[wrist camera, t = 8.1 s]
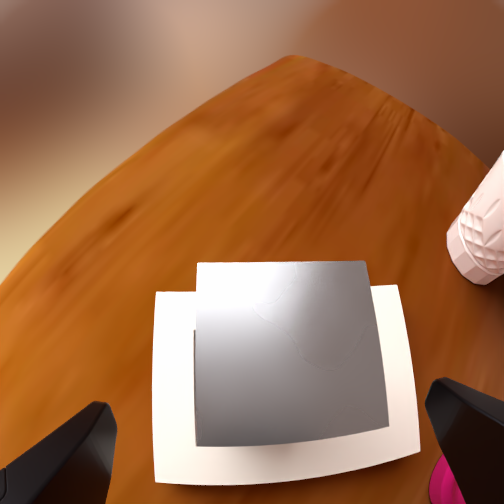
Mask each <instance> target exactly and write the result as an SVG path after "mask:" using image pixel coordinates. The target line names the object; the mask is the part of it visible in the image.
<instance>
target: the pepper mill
mask: <svg viewBox="0 0 504 504" xmlns="http://www.w3.org/2000/svg"><path fill="white" fill-rule="evenodd" d="M429 495H430V499H431V502H432V504H466V503H465V501H464V498H463V496H462V494H461V491H460V489H459V487H458V485H457V482H456V480H455V478H454V476H453V474H452V471H451V469H450V467H449V465H448V463H447V461H446V458H445V456H444V454H443V455H442V456H441V458H440V459H439V461H438V462H437V464H436V466H435V468H434V470H433V473H432V476H431V480H430V484H429Z"/></svg>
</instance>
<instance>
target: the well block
mask: <svg viewBox="0 0 504 504" xmlns="http://www.w3.org/2000/svg"><path fill="white" fill-rule="evenodd" d="M370 287H371V292H372V298H373V303H374V309H375V314H376V320H377V326H378V332H379V339H380V345H381V352H382V360H383V367H384V375H385V384H386V393H387V404H388V415H389V427H385V428H381V429H376V430H372V431H367V432H362V433H357V434H352V435H347V436H341V437H335V438H329V439H322V440H315V441H307V442H298V443H288V444H277V445H263V446H241V447H197V426H196V368H195V348H196V292H156V303H155V319H154V340H153V376H152V413H153V448H154V467H155V482H161V483H173V484H191V485H245V484H263V483H275V482H285V481H294V480H302V479H309V478H315V477H321V476H327V475H333V474H338V473H343V472H348V471H353V470H357V469H361V468H366V467H370V466H374V465H377V464H381V463H385V462H388V461H392V460H395V459H399V458H402V457H405V456H408V455H411V454H414V453H417V452H420V436H419V422H418V410H417V400H416V391H415V383H414V375H413V368H412V361H411V355H410V348H409V342H408V337H407V331H406V326H405V320H404V315H403V310H402V306H401V301H400V296H399V292H398V287H397V285H387V286H370Z"/></svg>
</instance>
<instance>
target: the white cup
mask: <svg viewBox="0 0 504 504" xmlns="http://www.w3.org/2000/svg"><path fill="white" fill-rule="evenodd" d="M447 248H448V251H449V254H450V256H451V259H452V262H453V263H454V265H455V266H456V267H457V269H458V270H459V271H460V273H461V274H462V275H463V276H464V277H466V278H467V279H468V280H470V281H471V282H473V283H474V284H481V285H486V284H488V283H490V282H491V281H493V280H494V279H496V278H497V277H499V276H501V275H503V274H504V151H503V152H502V154H501V155H500V157H499V158H498V160H497V161H496V163H495V164H494V166H493V167H492V169H491V170H490V171H489V173H488V174H487V176H486V177H485V178H484V180H483V181H482V183H481V184H480V185H479V187H478V188H477V190H476V191H475V193H474V194H473V195H472V197H471V198H470V199H469V201H468V202H467V204H466V205H465V206H464V208H463V209H462V212H461V213H460V214H459V216H458V217H457V218H456V219H455V220H454V222H453V223H452V224H451V226H450V228H449V230H448V232H447Z"/></svg>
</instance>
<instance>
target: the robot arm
mask: <svg viewBox="0 0 504 504" xmlns="http://www.w3.org/2000/svg"><path fill="white" fill-rule="evenodd" d="M425 408H426V410H427V413H428V416H429V418H430V421H431V424H432V426H433V429H434V432H435V435H436V438H437V440H438V443H439V446H440V448H441V450H442V452H443V454H444V456H445V458H446V461H447V463H448V465H449V467H450V469H451V471H452V474H453V476H454V478H455V480H456V482H457V485H458V487H459V489H460V491H461V494H462V496H463V498H464V501H465V503H466V504H504V402H503V401H501V400H498V399H496V398H494V397H491V396H489V395H486V394H484V393H482V392H479V391H477V390H475V389H472V388H470V387H468V386H465V385H463V384H461V383H458V382H456V381H454V380H451V379H449V378H447V377H443V378H439V379H436V380H434V381H433V382H432V384H431V387H430V389H429V392H428V394H427V397H426V399H425ZM116 435H117V424H116V421H115V418H114V415H113V413H112V410H111V407H110V405H109V404H108V403H106V402H99V401H94V402H92V403H90V404H89V405H88V406H86V407H85V408H84V409H82V410H81V411H80V412H78V413H77V414H76V415H74V416H73V417H72V418H70V419H69V420H68V421H66V422H65V423H64V424H62V425H61V426H60V427H58V428H57V429H56V430H54V431H53V432H52V433H50V434H49V435H48V436H46V437H45V438H44V439H42V440H41V441H40V442H38V443H37V444H36V445H34V446H33V447H32V448H30V449H29V450H27V451H26V452H25V453H23V454H22V455H21V456H19V457H18V458H17V459H15V460H14V461H12V462H11V463H10V464H8V465H7V466H6V468H3V469H1V470H0V504H105V502H106V498H107V493H108V489H109V485H110V480H111V474H112V467H113V458H114V450H115V443H116Z"/></svg>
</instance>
